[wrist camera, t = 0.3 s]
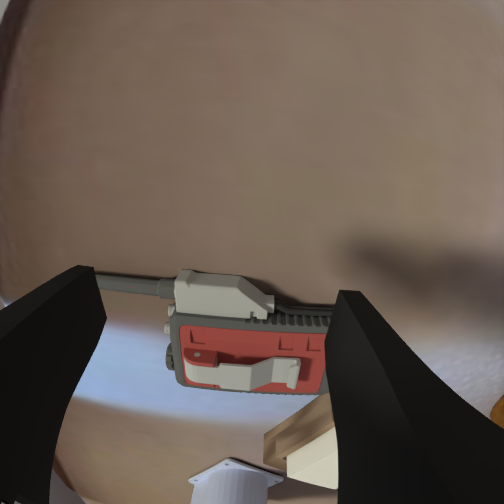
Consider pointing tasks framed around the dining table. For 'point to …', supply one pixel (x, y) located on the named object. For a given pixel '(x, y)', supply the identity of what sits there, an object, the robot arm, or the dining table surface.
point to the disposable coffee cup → (498, 413)
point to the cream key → (316, 461)
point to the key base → (298, 431)
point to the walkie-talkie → (236, 334)
